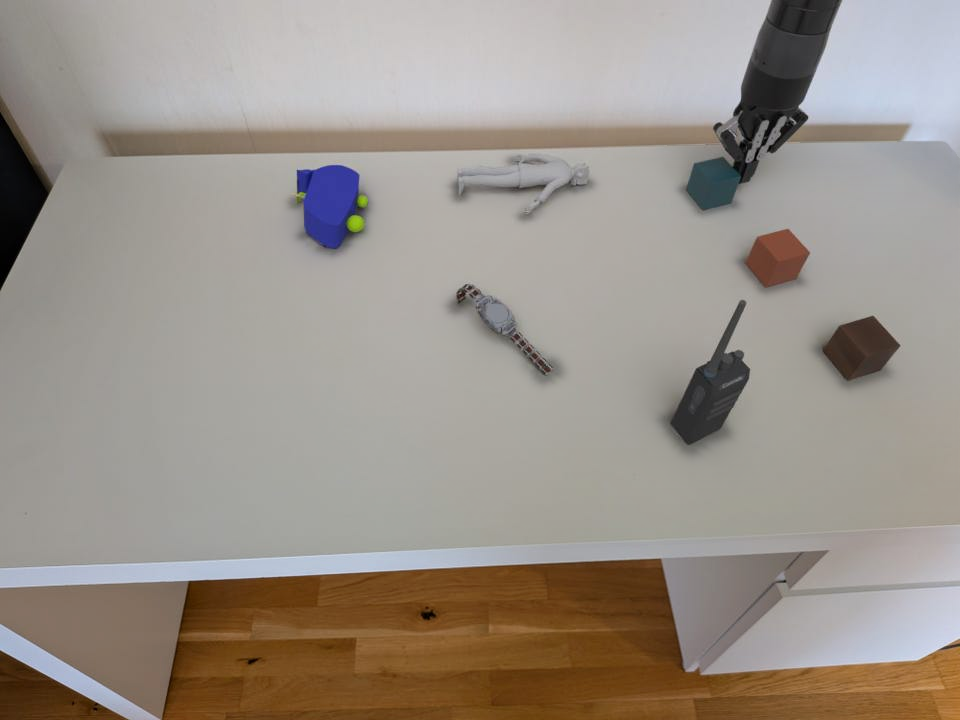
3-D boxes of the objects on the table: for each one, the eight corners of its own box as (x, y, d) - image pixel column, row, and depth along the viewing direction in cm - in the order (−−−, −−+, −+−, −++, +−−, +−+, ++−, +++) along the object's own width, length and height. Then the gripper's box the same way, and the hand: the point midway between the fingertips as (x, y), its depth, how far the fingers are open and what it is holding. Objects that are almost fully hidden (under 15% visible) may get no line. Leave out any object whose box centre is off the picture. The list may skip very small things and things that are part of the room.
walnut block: (854, 340, 78) (873, 315, 74) (880, 370, 76) (901, 345, 72) (822, 350, 77) (839, 325, 74) (847, 381, 75) (866, 356, 71)
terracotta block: (775, 254, 86) (788, 228, 83) (796, 279, 84) (810, 252, 80) (744, 263, 86) (756, 236, 82) (765, 287, 83) (778, 261, 79)
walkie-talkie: (687, 448, 69) (751, 322, 53) (667, 423, 71) (724, 294, 55) (724, 430, 71) (797, 302, 55) (704, 406, 73) (768, 275, 57)
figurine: (461, 218, 90) (595, 211, 91) (461, 195, 87) (599, 188, 88) (455, 165, 97) (579, 160, 99) (454, 142, 94) (582, 137, 96)
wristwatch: (466, 291, 82) (474, 270, 78) (548, 378, 80) (562, 361, 75) (444, 307, 80) (451, 286, 76) (527, 396, 78) (540, 380, 74)
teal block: (713, 183, 95) (723, 156, 91) (731, 203, 92) (741, 176, 89) (685, 190, 94) (693, 163, 90) (702, 210, 91) (711, 183, 88)
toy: (357, 191, 95) (288, 194, 92) (359, 159, 91) (286, 161, 88) (375, 253, 89) (301, 259, 86) (378, 222, 85) (301, 227, 82)
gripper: (753, 86, 75) (712, 207, 89) (853, 64, 78) (797, 185, 92) (717, 52, 80) (683, 173, 94) (813, 33, 82) (766, 153, 96)
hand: (740, 179), depth 93 cm, fingers closed
